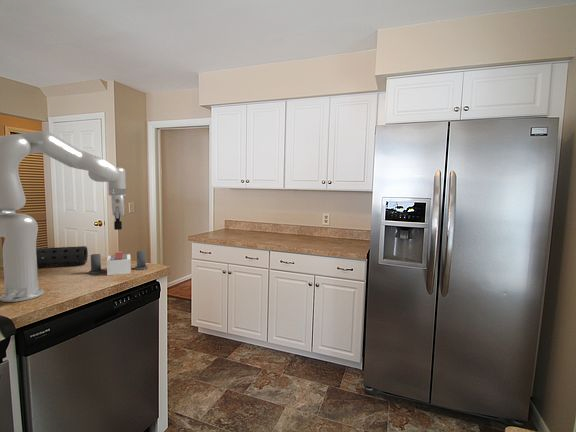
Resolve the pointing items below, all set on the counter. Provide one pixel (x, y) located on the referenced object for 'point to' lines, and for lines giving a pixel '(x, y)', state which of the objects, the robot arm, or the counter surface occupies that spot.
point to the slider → (118, 255)
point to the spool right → (141, 261)
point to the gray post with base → (95, 264)
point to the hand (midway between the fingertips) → (118, 229)
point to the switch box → (118, 265)
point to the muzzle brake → (61, 256)
